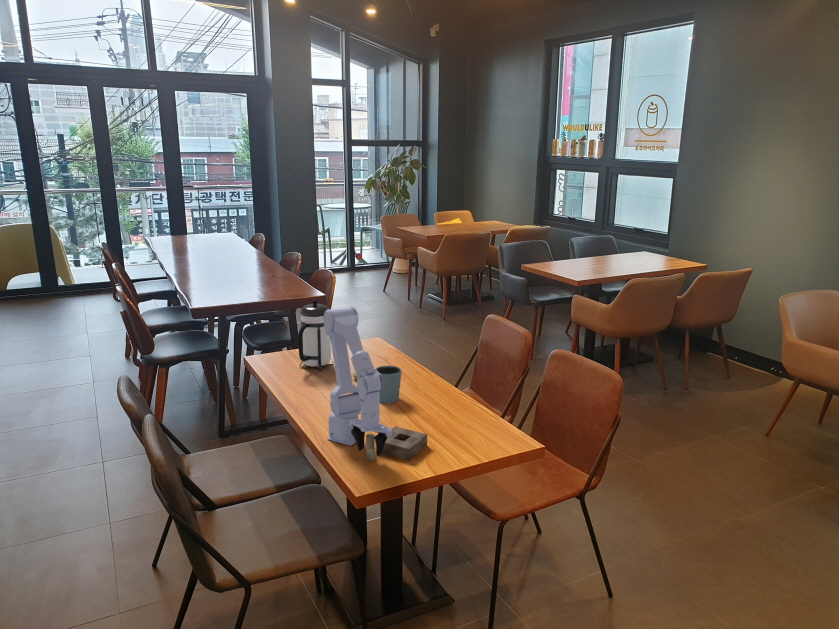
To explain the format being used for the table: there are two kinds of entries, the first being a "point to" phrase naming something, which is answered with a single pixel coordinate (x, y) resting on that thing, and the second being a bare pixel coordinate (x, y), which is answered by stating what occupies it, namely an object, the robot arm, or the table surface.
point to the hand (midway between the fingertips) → (370, 452)
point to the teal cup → (390, 383)
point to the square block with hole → (404, 443)
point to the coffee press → (313, 336)
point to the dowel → (370, 447)
